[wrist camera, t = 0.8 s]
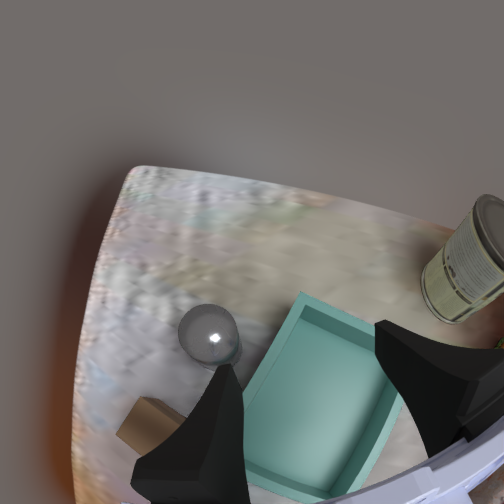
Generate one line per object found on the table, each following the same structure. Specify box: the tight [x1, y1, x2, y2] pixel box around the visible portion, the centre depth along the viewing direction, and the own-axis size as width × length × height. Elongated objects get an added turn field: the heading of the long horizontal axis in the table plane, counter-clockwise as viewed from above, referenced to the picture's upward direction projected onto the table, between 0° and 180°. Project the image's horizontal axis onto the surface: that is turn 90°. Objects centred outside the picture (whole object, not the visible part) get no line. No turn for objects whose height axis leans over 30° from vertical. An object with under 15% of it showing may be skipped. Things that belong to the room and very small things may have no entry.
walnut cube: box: [116, 396, 186, 456], centre depth 21 cm, size 5×5×5 cm
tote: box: [242, 291, 404, 504], centre depth 22 cm, size 18×14×5 cm
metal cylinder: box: [178, 304, 242, 371], centre depth 25 cm, size 5×5×7 cm
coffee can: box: [421, 194, 504, 324], centre depth 24 cm, size 10×10×14 cm
